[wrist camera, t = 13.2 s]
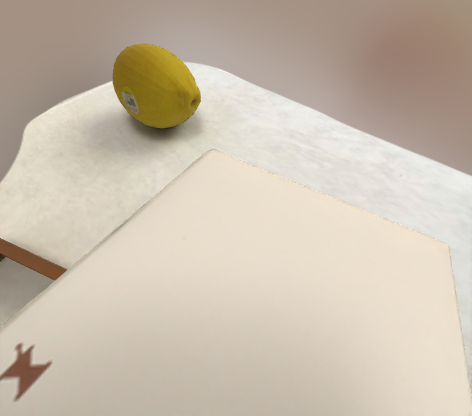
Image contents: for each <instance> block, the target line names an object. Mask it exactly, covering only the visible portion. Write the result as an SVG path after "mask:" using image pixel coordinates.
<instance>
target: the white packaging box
mask: <svg viewBox="0 0 472 416" xmlns="http://www.w3.org/2000/svg"><path fill="white" fill-rule="evenodd" d="M0 416H472V392H471V386H470V380H469V373H468V367H467V361H466V354H465V348H464V342H463V335H462V329H461V322H460V316H459V309H458V302H457V295H456V289H455V282H454V276H453V270H452V263H451V255H450V249H449V246H448V245H447V244H446V243H444V242H441V241H439V240H436V239H434V238H432V237H429V236H427V235H424V234H422V233H420V232H417V231H415V230H412V229H410V228H408V227H405V226H403V225H400V224H398V223H395V222H393V221H390V220H388V219H386V218H383V217H381V216H378V215H376V214H373V213H370V212H368V211H365V210H363V209H360V208H358V207H355V206H353V205H351V204H348V203H346V202H343V201H341V200H338V199H336V198H333V197H331V196H329V195H326V194H324V193H321V192H319V191H316V190H314V189H311V188H308V187H306V186H303V185H301V184H298V183H296V182H293V181H290V180H288V179H285V178H283V177H280V176H278V175H275V174H273V173H270V172H268V171H265V170H263V169H260V168H257V167H255V166H252V165H250V164H248V163H245V162H243V161H241V160H238V159H236V158H233V157H231V156H229V155H226V154H224V153H222V152H220V151H217V150H215V149H213V150H209V151H207V152H206V153H204V154H203V155H202V156H201V157H200V158H198V159H197V160H196V161H195V162H193V163H192V164H191V165H190V166H189V167H188V168H187V169H186V170H185V171H184V172H182V173H181V174H180V175H179V176H178V177H176V178H175V179H174V180H173V181H172V182H170V183H169V184H168V185H167V186H166V187H164V188H163V189H162V190H161V191H160V192H159V193H157V194H156V195H155V196H154V197H153V198H152V199H151V200H149V201H148V202H147V203H146V204H145V205H143V206H142V207H141V208H140V209H139V210H137V211H136V212H135V213H134V214H133V215H131V216H130V217H128V218H127V219H126V220H124V221H123V222H122V223H121V224H120V225H119V226H118V227H116V228H115V229H114V230H113V231H112V232H111V233H110V234H109V235H108V236H107V237H106V238H105V239H103V240H102V241H101V242H100V243H99V244H98V245H96V246H95V247H94V248H93V249H92V250H90V251H89V252H88V253H87V254H86V255H84V256H83V257H82V258H81V259H80V260H79V261H78V262H76V263H75V264H74V265H73V266H72V267H71V268H70V269H68V270H67V271H66V272H65V273H64V274H62V275H61V276H60V277H59V278H58V279H57V280H55V281H54V282H53V283H52V284H51V285H49V286H48V287H47V288H46V289H45V290H44V291H42V292H41V293H40V294H39V295H38V296H36V297H35V298H34V299H33V300H32V301H30V302H29V303H28V304H27V305H26V306H24V307H23V308H22V309H21V310H20V311H19V312H17V313H16V314H15V315H14V316H13V317H11V318H10V319H9V320H8V321H7V322H6V323H4V324H3V325H2V326H1V327H0Z"/></svg>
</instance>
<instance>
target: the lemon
mask: <svg viewBox="0 0 472 416" xmlns="http://www.w3.org/2000/svg"><path fill="white" fill-rule="evenodd" d="M113 85H114V89H115V92H116V94H117V96H118V99H119V101H120V102H121V104H122V105H123V106H124V108H125V109H126V110H127V112H128V113H129V114H130V115H132V116H133V117H134V118H135V119H136V120H138V121H140V122H141V123H143V124H145V125H147V126H150V127H156V128H169V127H173V126H176V125H179V124H181V123H183V122H185V121H186V120H187V119H188V118H189V117H190V116H191V115H193V114H194V112H195V110H196V109H197V107H198V106H199V104H200V102H201V95H200V91H199V89H198V87H197V85H196V83H195V79H194V77H193V76H192V74H191V72H190V71H189V69H188V68H187V66H186V65H185V64H184V63H183V62H182V61H181V60H180V59H179V58H177V57H176V56H175V55H174V54H172V53H171V52H169V51H167V50H165V49H164V48H161V47H158V46H155V45H150V44H137V45H132V46H129V47H127V48H126V49H124V50H123V51H122V52H121V53H120V54H119V56H118V57H117V59H116V61H115V64H114V69H113Z"/></svg>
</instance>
